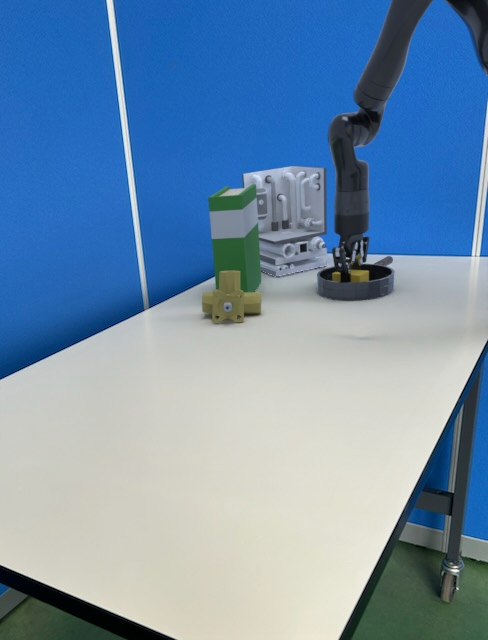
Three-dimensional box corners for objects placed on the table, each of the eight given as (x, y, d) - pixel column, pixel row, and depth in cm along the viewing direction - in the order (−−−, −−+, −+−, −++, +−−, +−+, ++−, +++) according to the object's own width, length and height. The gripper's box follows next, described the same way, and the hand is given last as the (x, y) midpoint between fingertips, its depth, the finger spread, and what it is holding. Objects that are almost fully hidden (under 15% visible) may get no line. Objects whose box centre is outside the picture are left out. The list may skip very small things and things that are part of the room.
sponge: (368, 285, 145) (369, 270, 143) (360, 290, 142) (360, 275, 140) (341, 283, 149) (341, 268, 148) (332, 288, 146) (332, 273, 145)
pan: (406, 283, 145) (406, 266, 144) (373, 304, 134) (374, 285, 132) (339, 277, 156) (339, 261, 154) (303, 296, 144) (303, 279, 143)
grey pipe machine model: (296, 257, 180) (293, 165, 170) (334, 268, 164) (334, 168, 153) (248, 267, 175) (242, 173, 165) (282, 280, 159) (278, 177, 149)
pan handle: (394, 263, 156) (394, 255, 156) (374, 274, 149) (374, 266, 148) (386, 262, 158) (386, 255, 157) (366, 273, 150) (367, 265, 149)
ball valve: (204, 316, 141) (199, 324, 131) (204, 270, 138) (198, 275, 128) (261, 316, 139) (259, 324, 130) (261, 269, 136) (260, 274, 126)
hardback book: (233, 282, 162) (226, 186, 151) (261, 282, 159) (256, 184, 149) (217, 303, 146) (208, 197, 136) (248, 302, 144) (241, 195, 134)
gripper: (352, 217, 131) (351, 296, 138) (381, 205, 140) (379, 279, 148) (320, 216, 136) (321, 292, 143) (351, 204, 145) (350, 276, 152)
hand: (350, 285), depth 145 cm, fingers closed on sponge, 4 cm apart
